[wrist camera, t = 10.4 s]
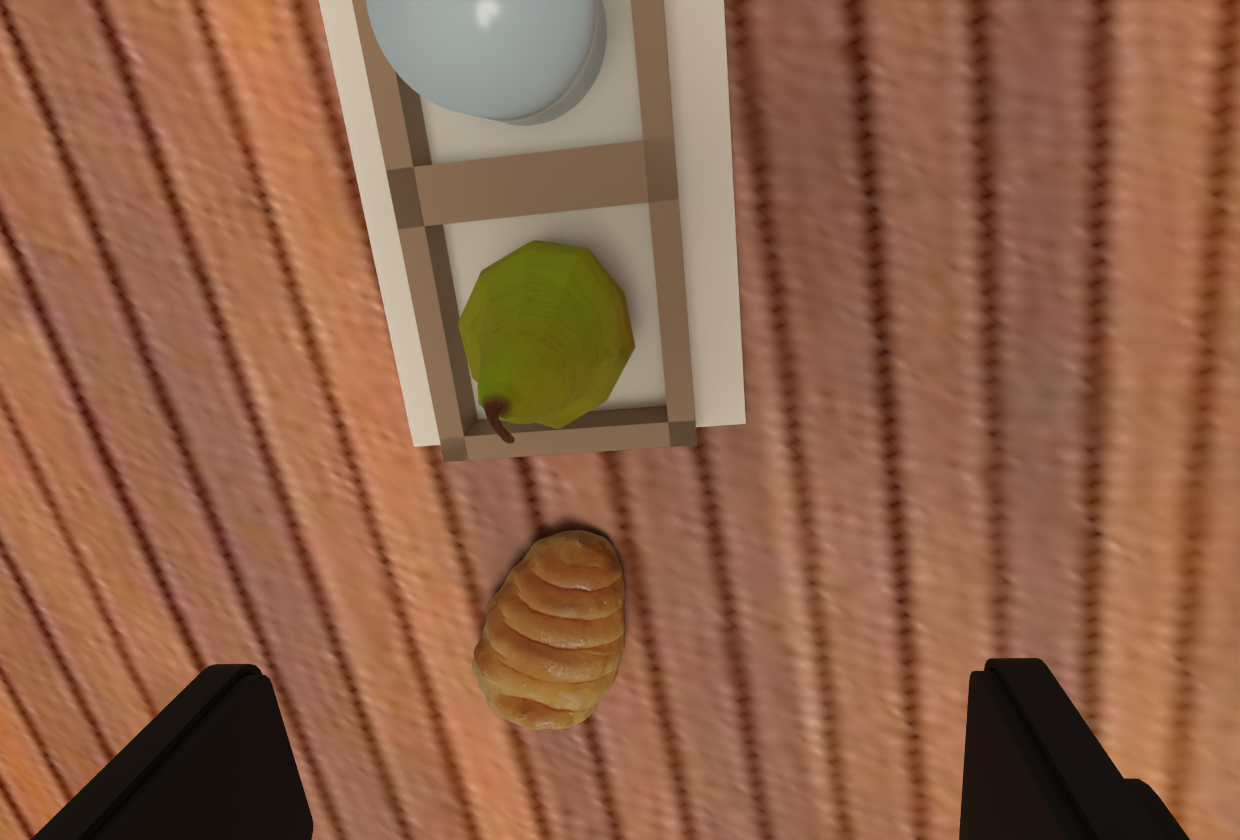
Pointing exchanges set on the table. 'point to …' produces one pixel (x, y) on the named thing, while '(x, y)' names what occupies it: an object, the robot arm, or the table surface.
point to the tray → (560, 225)
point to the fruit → (545, 336)
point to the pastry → (554, 632)
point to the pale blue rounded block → (495, 53)
